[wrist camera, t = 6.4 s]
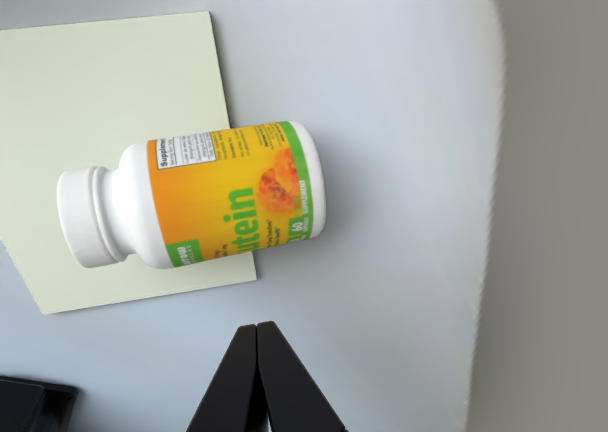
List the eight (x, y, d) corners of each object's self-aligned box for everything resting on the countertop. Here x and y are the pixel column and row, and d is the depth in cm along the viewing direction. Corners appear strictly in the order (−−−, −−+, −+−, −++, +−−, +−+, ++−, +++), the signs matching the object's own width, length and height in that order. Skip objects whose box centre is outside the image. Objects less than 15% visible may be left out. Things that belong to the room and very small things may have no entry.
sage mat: (209, 11, 16) (208, 11, 15) (256, 274, 23) (256, 280, 22) (-101, 39, 15) (-111, 40, 14) (46, 308, 22) (42, 314, 21)
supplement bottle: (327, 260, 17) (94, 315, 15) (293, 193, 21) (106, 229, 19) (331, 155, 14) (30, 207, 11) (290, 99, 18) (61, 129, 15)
